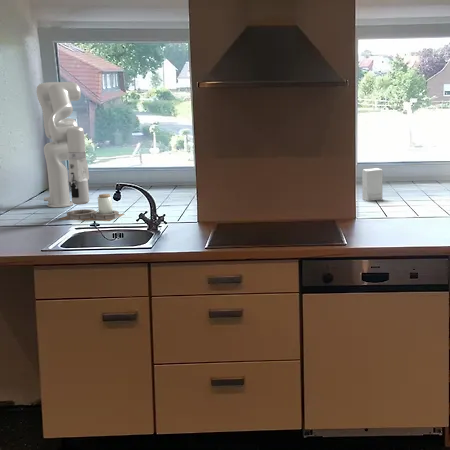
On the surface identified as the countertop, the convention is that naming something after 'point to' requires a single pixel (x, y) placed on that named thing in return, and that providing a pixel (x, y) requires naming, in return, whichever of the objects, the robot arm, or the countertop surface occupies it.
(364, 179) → the skincare box
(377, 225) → the countertop surface
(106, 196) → the jar
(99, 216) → the stand
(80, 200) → the can
